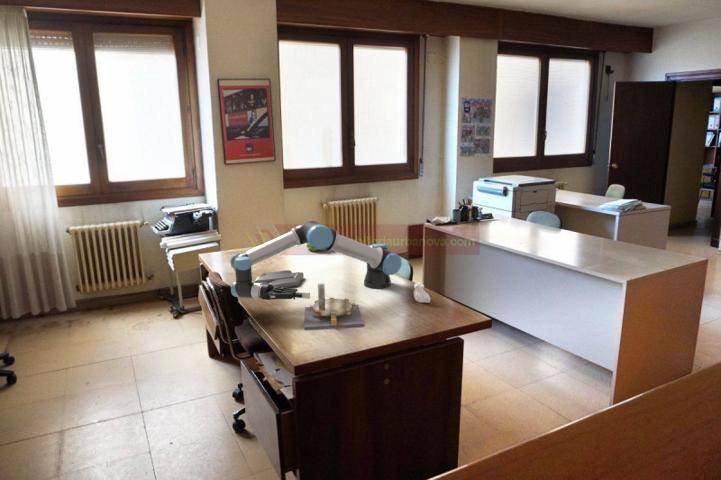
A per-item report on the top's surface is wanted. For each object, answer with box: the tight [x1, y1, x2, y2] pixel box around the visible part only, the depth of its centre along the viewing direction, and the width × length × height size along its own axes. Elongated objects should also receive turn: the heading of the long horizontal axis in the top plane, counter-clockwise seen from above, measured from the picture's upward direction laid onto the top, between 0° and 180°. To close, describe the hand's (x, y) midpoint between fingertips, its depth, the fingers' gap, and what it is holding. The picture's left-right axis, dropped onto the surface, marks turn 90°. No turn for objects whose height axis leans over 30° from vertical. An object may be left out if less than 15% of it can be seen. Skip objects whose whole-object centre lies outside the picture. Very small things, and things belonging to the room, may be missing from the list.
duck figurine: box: [413, 281, 431, 304], centre depth 250 cm, size 12×8×11 cm
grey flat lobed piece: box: [254, 269, 305, 288], centre depth 286 cm, size 28×5×28 cm
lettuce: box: [305, 243, 323, 252], centre depth 362 cm, size 15×25×16 cm
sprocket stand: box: [303, 304, 364, 330], centre depth 232 cm, size 26×25×4 cm
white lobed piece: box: [309, 282, 356, 318], centre depth 231 cm, size 21×21×14 cm
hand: (309, 295), depth 227 cm, fingers closed
